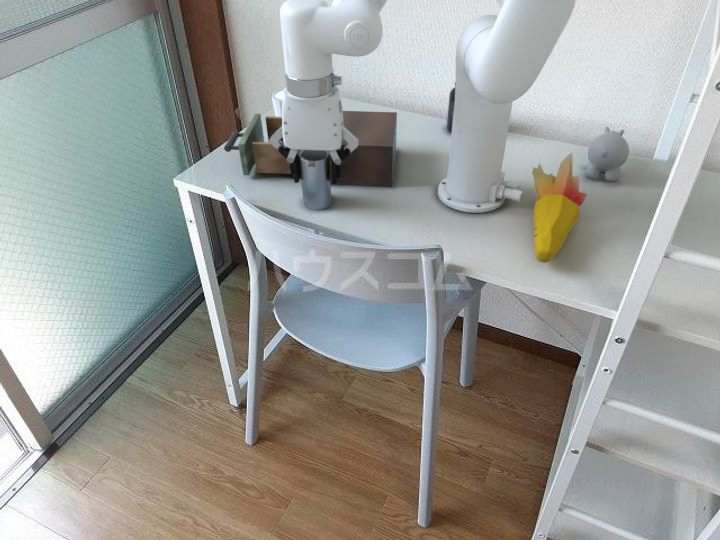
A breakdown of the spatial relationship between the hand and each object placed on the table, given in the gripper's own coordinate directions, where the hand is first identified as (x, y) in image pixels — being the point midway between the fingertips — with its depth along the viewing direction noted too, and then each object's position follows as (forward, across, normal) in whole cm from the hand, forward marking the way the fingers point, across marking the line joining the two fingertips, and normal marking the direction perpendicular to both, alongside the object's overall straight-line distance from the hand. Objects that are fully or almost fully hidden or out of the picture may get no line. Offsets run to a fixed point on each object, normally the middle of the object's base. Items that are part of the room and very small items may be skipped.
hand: (316, 178), depth 104 cm
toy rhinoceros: (+5, -55, -16) cm, 57 cm away
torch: (+5, -41, +5) cm, 41 cm away
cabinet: (+5, -5, -14) cm, 15 cm away
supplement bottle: (+5, -28, -32) cm, 42 cm away
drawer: (+4, +10, -14) cm, 18 cm away
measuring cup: (+5, 0, 0) cm, 5 cm away
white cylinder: (+5, +12, -32) cm, 34 cm away
